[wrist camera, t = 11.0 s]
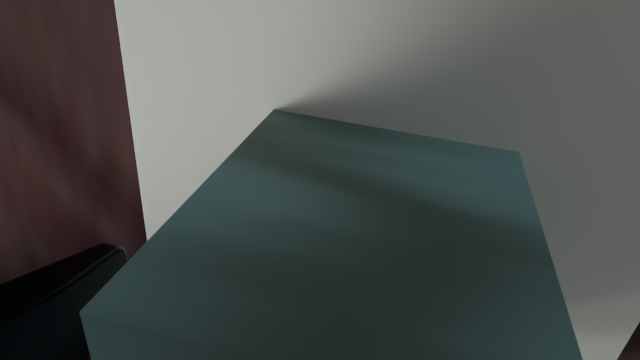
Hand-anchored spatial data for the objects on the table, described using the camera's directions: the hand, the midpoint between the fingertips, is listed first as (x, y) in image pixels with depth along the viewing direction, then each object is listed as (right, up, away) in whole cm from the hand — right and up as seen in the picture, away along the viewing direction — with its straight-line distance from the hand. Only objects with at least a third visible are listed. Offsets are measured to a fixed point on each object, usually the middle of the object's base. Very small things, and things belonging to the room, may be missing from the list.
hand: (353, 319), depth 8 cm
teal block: (+1, +1, +2) cm, 3 cm away
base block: (+1, +3, +5) cm, 6 cm away
